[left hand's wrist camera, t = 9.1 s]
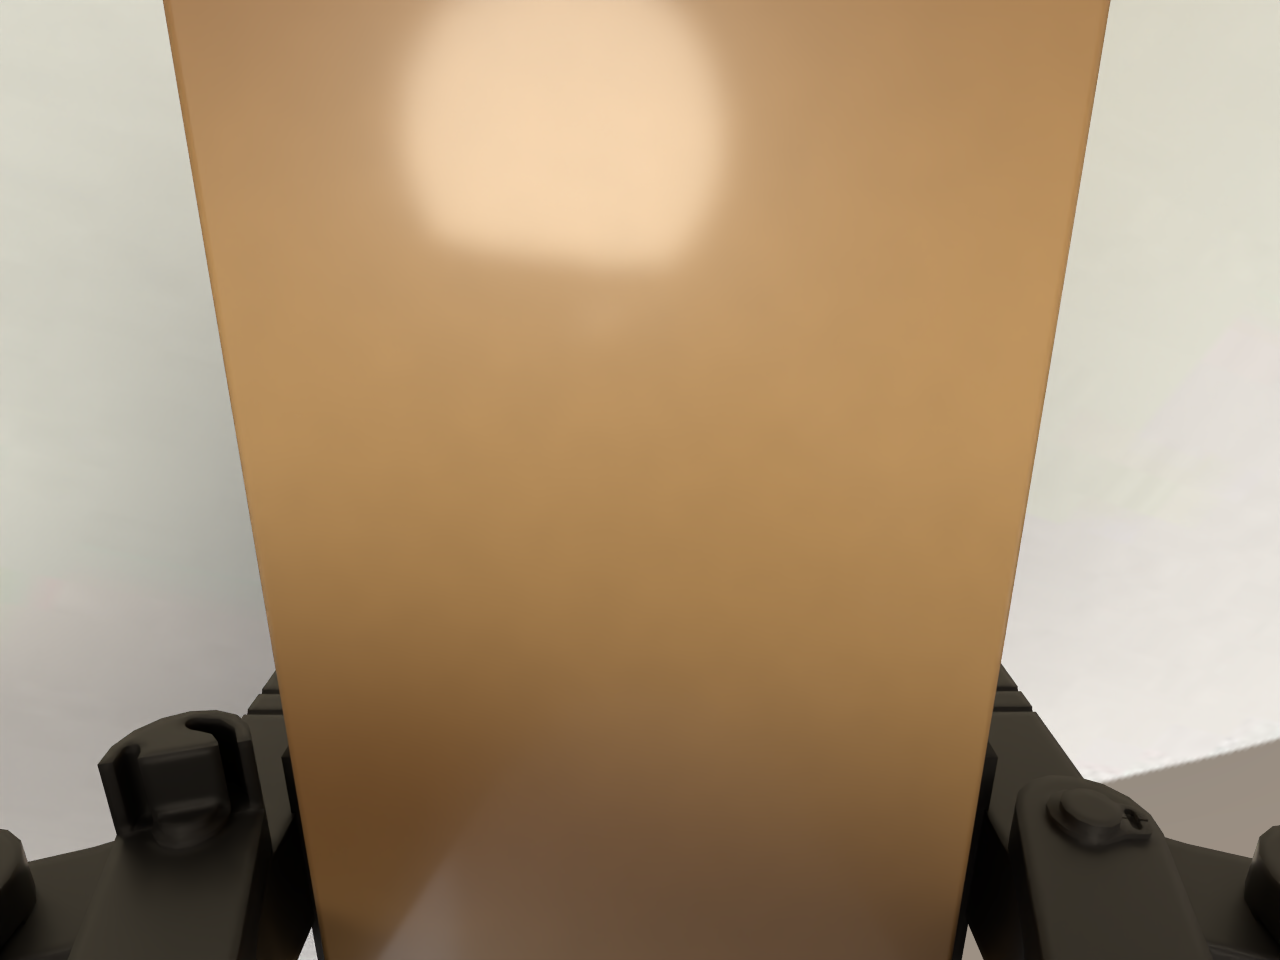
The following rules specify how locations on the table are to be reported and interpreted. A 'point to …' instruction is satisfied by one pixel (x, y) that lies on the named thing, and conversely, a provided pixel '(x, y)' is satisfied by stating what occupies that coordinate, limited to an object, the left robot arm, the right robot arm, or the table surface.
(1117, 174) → the table surface
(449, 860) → the beam
